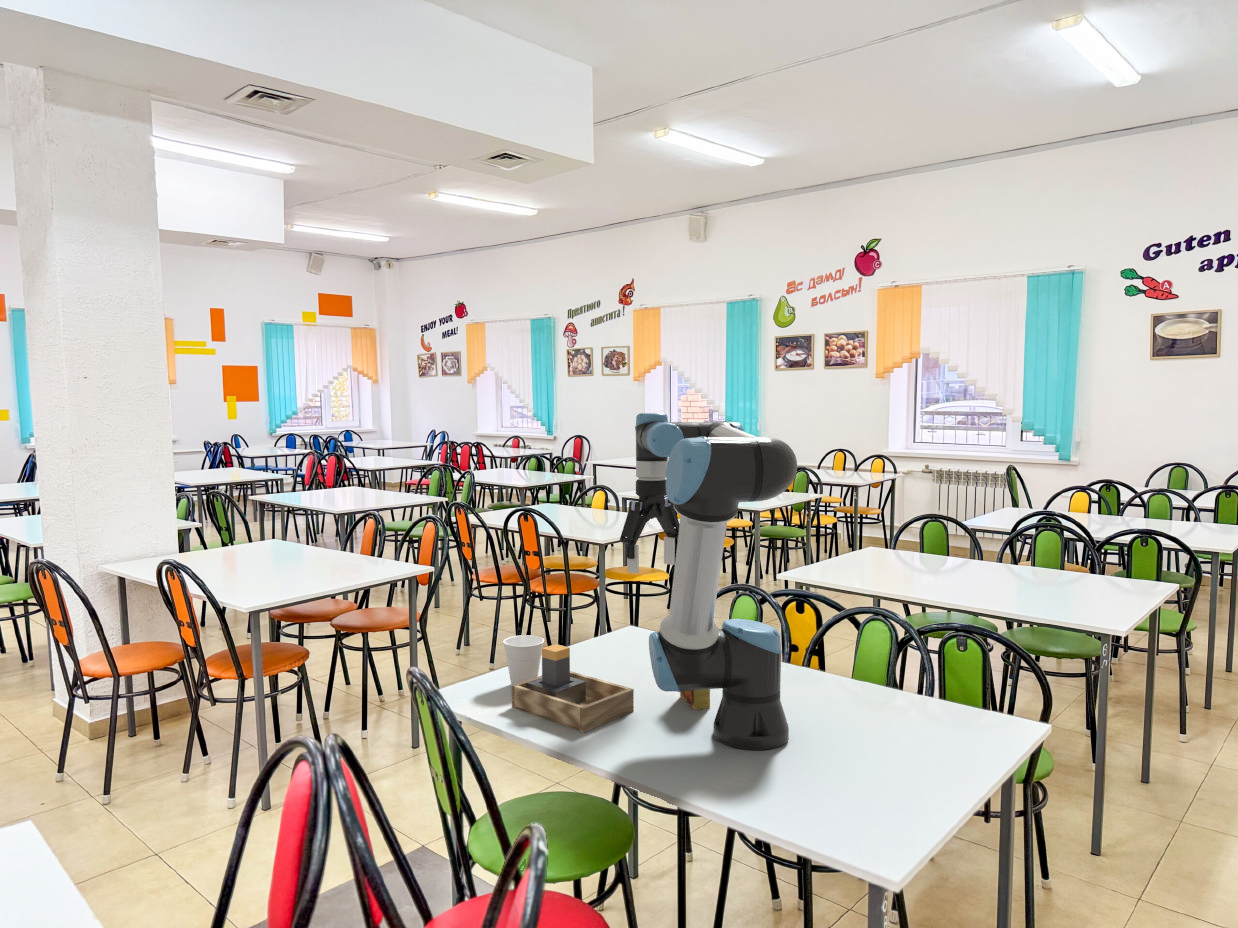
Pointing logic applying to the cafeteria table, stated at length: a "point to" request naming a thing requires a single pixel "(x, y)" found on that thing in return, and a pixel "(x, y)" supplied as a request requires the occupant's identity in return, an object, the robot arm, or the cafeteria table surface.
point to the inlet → (562, 690)
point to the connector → (555, 665)
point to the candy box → (697, 698)
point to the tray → (597, 709)
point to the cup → (523, 657)
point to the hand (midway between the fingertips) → (651, 568)
